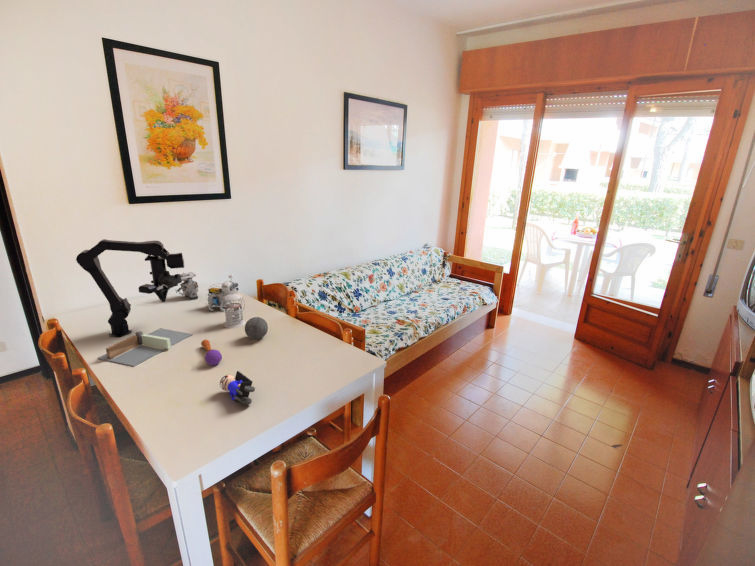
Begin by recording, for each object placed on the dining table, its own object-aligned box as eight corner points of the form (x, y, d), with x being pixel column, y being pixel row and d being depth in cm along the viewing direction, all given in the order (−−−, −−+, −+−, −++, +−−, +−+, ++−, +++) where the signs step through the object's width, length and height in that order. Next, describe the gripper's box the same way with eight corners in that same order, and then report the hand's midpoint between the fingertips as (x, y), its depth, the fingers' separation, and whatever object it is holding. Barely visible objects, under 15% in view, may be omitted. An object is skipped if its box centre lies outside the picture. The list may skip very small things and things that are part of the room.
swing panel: (145, 342, 157) (144, 334, 156) (171, 347, 154) (169, 338, 153) (142, 344, 156) (141, 335, 154) (168, 349, 152) (166, 340, 151)
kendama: (213, 336, 158) (223, 352, 142) (212, 349, 159) (222, 367, 143) (198, 336, 155) (207, 353, 139) (197, 350, 156) (205, 368, 139)
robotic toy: (235, 312, 194) (232, 285, 189) (202, 311, 194) (199, 284, 189) (243, 304, 206) (241, 278, 202) (212, 303, 206) (210, 277, 202)
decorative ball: (240, 339, 164) (238, 319, 161) (257, 331, 173) (255, 312, 170) (257, 345, 160) (255, 324, 157) (273, 336, 168) (272, 316, 166)
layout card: (97, 358, 144) (97, 357, 144) (160, 328, 172) (160, 328, 172) (133, 366, 140) (133, 365, 140) (192, 334, 167) (192, 333, 167)
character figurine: (240, 412, 117) (219, 393, 127) (260, 401, 122) (239, 383, 131) (236, 392, 114) (215, 373, 124) (257, 381, 119) (235, 364, 129)
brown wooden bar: (106, 358, 144) (104, 346, 142) (141, 341, 158) (139, 331, 157) (111, 359, 143) (109, 348, 142) (145, 342, 158) (144, 332, 156)
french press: (219, 325, 178) (214, 275, 171) (236, 317, 188) (232, 270, 181) (235, 329, 174) (231, 278, 167) (252, 320, 185) (248, 272, 177)
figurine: (174, 298, 211) (170, 273, 206) (195, 294, 219) (192, 269, 214) (180, 302, 205) (176, 276, 200) (201, 298, 213) (198, 273, 208)
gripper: (156, 276, 154) (161, 311, 159) (189, 266, 171) (193, 297, 176) (135, 273, 157) (140, 307, 162) (169, 263, 174) (174, 295, 179)
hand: (163, 302), depth 169 cm, fingers closed
